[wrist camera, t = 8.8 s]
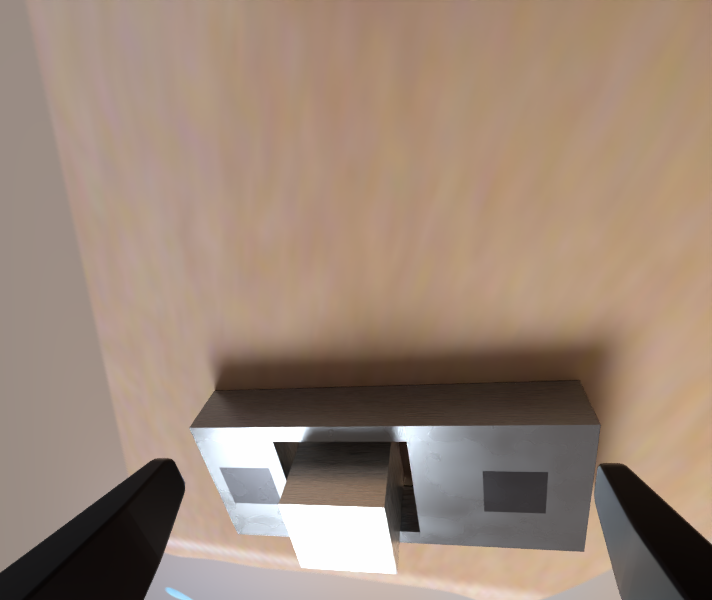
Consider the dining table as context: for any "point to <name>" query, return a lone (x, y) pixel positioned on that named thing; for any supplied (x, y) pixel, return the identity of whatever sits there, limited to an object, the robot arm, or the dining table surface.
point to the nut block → (345, 505)
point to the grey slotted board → (421, 456)
